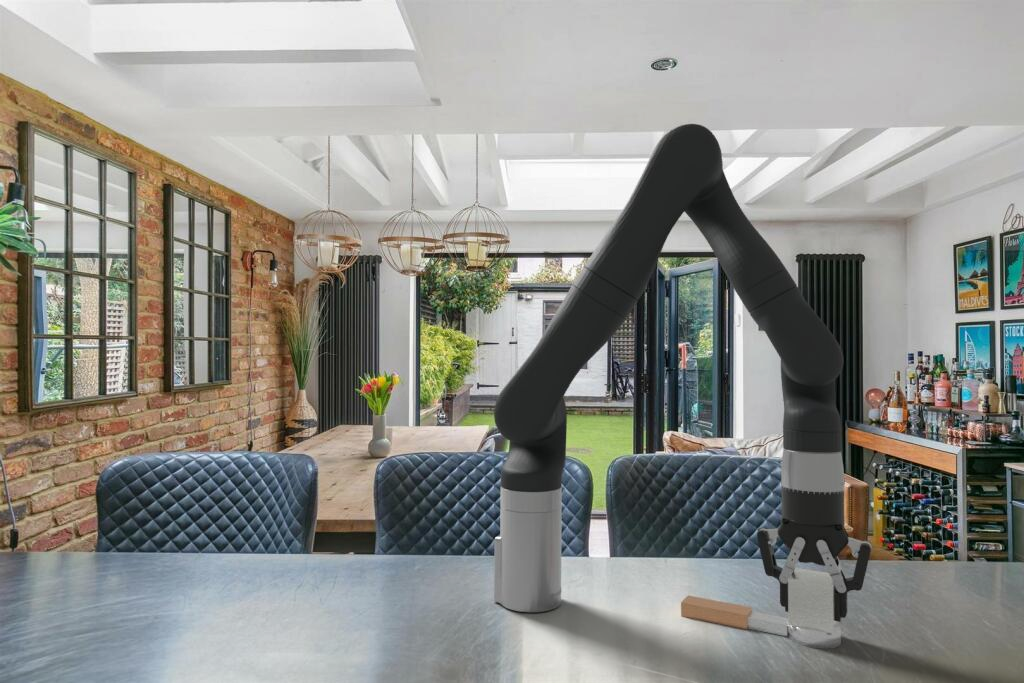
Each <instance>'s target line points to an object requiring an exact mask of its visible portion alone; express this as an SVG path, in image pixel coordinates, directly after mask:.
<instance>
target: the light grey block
mask: <svg viewBox="0 0 1024 683" xmlns="http://www.w3.org/2000/svg"><path fill="white" fill-rule="evenodd" d="M835 590H836V587H835V585H834V582H833V580H832V578H831V576H830V575H829V573H828V572H826V571H818V570H813V569H807V568H806V569H805V568H799V567H795V569H794V571H793V573H792V575H790V576H789V577H788V612H787V613H788V614H787V615H788V616H787V617H788V625H791V626H796V627H801V628H806V629H811V630H817V631H822V632H827V633H832V634H834V631H835V628H836V625H837V623H838V621H835Z"/></svg>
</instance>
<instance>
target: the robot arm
mask: <svg viewBox="0 0 1024 683" xmlns="http://www.w3.org/2000/svg"><path fill="white" fill-rule="evenodd" d="M723 165H724V164H723V154H722V150H721V146H720V144H719V140H718V139H717V137H716V135H715V134H714V133H713V132H712V130H710V129H709V128H708V127H705V126H704V125H701V124H698V123H687V124H681V125H680V126H677V127H675V128H673V129H671V130H669V131H668V132H667V133H666V134H665V135H663V137H662V138H661V139H660V140H659V141H658V142H657V143H656V146H655V148H654V149H653V151H652V153H651V155H650V157H649V159H648V161H647V163H646V166H645V167H644V169H643V171H642V174H641V175H640V178H639V179H638V181H637V183H636V185H635V187H634V190H632V191H633V192H632V193H631V195H630V197H629V199H628V201H627V202H626V204H625V205H624V207H623V209H622V210H621V211H620V213H619V214H618V216H617V217H616V219H615V220H614V221H613V223H612V224H611V226H609V228H608V230H607V232H606V233H605V234H604V236H603V237H602V239H601V240H600V242H599V243H598V245H596V247H595V249H594V251H593V252H592V254H591V255H590V257H588V258H589V259H587V262H585V264H584V266H583V267H582V269H581V270H580V272H579V273H578V275H577V276H576V278H575V280H574V282H573V283H572V285H571V286H570V288H569V290H568V292H567V293H566V295H565V297H564V299H563V300H562V302H561V304H560V305H559V307H558V308H557V310H556V312H555V314H554V315H553V317H552V318H551V320H550V322H549V324H548V325H547V327H546V329H545V331H544V333H543V334H542V336H541V337H540V340H539V341H538V343H537V344H536V346H535V347H534V348H533V350H532V351H531V352H530V354H529V356H528V357H527V358H526V360H525V361H524V362H523V363H522V364H521V365H520V367H519V369H517V371H516V372H515V373H514V375H513V376H512V377H511V378H510V380H509V381H508V382H507V383H506V385H505V386H504V387H503V389H502V390H501V391H500V392H499V394H498V397H497V398H496V401H495V404H494V411H493V418H494V424H495V427H496V429H497V431H498V432H499V434H500V435H501V436H502V437H503V438H504V439H506V440H507V441H509V442H508V443H509V445H508V453H507V456H506V459H505V462H504V464H503V465H502V468H501V470H500V501H499V503H500V504H499V505H500V508H499V510H500V517H499V518H500V520H499V521H500V522H499V524H500V527H499V528H500V532H499V533H500V535H497V536H496V537H495V538H494V554H493V555H494V558H493V559H494V562H493V564H494V569H493V571H494V572H493V573H494V574H493V575H494V578H493V579H494V581H493V583H494V584H493V585H494V586H493V589H494V590H493V601H494V603H499V604H500V605H501V606H503V607H504V608H505V609H509V610H512V611H516V612H520V613H521V612H522V613H542V612H548V611H552V610H554V609H556V608H558V607H560V605H561V604H562V510H563V509H562V500H563V498H562V497H563V496H562V486H563V485H562V484H563V482H562V478H563V472H564V469H565V465H566V458H567V456H566V454H567V427H568V425H567V424H568V423H567V422H568V421H567V420H568V419H567V418H568V417H567V406H566V401H565V398H564V397H565V395H566V392H567V391H568V389H569V388H570V385H571V384H572V383H573V381H574V379H575V378H576V376H577V375H578V374H579V373H580V371H581V369H582V368H583V367H584V366H585V365H586V364H587V363H588V362H589V360H591V359H592V358H593V357H594V356H595V355H596V354H597V353H598V352H599V351H600V350H601V349H602V348H603V347H604V345H605V344H607V343H608V342H609V341H610V340H611V338H612V337H614V335H615V334H616V333H617V332H618V330H619V329H620V328H621V326H623V324H624V323H625V321H626V319H627V318H628V317H629V315H630V313H631V312H632V311H633V309H634V307H635V305H636V304H637V303H638V300H640V298H641V296H642V295H643V292H644V291H645V289H646V288H647V286H648V283H649V281H650V279H651V276H652V275H653V273H654V270H655V269H656V266H657V263H658V261H659V258H660V255H661V253H662V251H663V249H664V246H665V243H666V241H667V239H668V237H669V235H670V233H671V232H672V230H673V228H674V227H675V225H676V224H677V222H678V221H679V219H680V218H681V217H682V215H683V214H684V213H685V214H686V215H687V216H688V218H690V220H691V221H692V222H693V223H694V225H695V226H696V228H698V230H699V232H700V233H701V234H702V235H703V237H704V239H705V240H706V242H707V243H708V245H709V246H710V248H711V250H712V251H713V253H714V255H715V257H716V259H717V261H718V262H719V264H720V266H721V268H722V270H723V272H724V273H725V276H726V277H727V278H728V281H729V283H730V284H731V286H732V287H733V290H734V291H735V293H736V294H737V296H738V297H739V299H740V301H741V303H742V304H743V305H744V307H745V309H746V311H747V312H748V313H749V315H750V317H751V318H752V320H753V321H754V322H755V323H756V325H757V327H759V328H760V329H762V331H764V332H765V334H766V337H768V339H769V341H770V343H771V345H772V347H773V348H774V350H775V351H776V353H777V355H778V356H779V359H780V378H781V389H782V401H783V411H784V412H783V421H782V444H783V445H782V446H783V447H782V449H783V450H782V456H781V457H782V458H781V464H780V465H781V468H780V470H781V476H780V477H781V480H780V481H781V485H780V486H781V522H780V525H779V526H778V528H777V527H776V528H767V527H761V528H760V529H759V531H757V532H756V533H757V534H756V538H757V542H758V546H759V551H760V556H761V560H762V564H763V569H764V572H765V575H766V576H768V577H773V578H775V579H776V580H778V582H779V603H780V605H781V607H784V609H785V612H786V613H788V577H789V576H790V575H792V573H793V571H794V569H795V568H797V565H798V563H803V564H809V563H813V564H815V565H818V566H823V567H825V569H826V570H827V573H829V575H830V576H831V578H832V580H833V582H834V585H835V587H836V590H835V621H837V623H841V622H842V619H845V618H846V617H847V614H848V593H849V592H850V591H857V592H858V591H861V590H862V589H863V585H864V582H865V577H866V573H867V570H868V569H867V568H868V563H869V560H870V556H871V551H872V546H873V545H872V543H871V541H869V540H867V539H866V540H865V539H864V540H860V539H857V538H853V537H850V536H849V534H848V531H846V530H847V529H846V527H845V526H846V525H845V483H846V481H845V480H846V479H845V473H844V472H845V470H844V463H843V456H842V455H843V454H842V425H841V416H840V413H839V411H838V409H837V405H836V379H837V378H838V377H839V375H840V374H841V372H842V370H843V366H844V362H845V360H844V354H843V350H842V348H841V346H840V344H839V342H838V341H837V339H836V337H834V334H833V333H832V332H831V331H830V330H829V327H827V325H826V324H825V323H824V322H823V321H822V319H821V318H820V317H819V316H818V314H817V313H816V312H815V310H814V309H813V308H812V307H811V305H809V303H808V302H807V300H805V297H804V296H803V293H802V291H801V290H800V288H799V286H798V285H797V283H796V281H795V280H794V278H793V277H792V275H791V274H790V272H789V271H788V269H787V268H786V266H785V264H783V262H782V261H781V259H780V258H779V256H778V255H777V253H775V251H774V250H773V247H771V246H770V244H769V243H768V242H767V241H766V240H765V239H764V237H763V236H762V235H761V234H760V232H759V231H758V230H757V229H756V228H755V227H754V225H753V224H752V223H751V221H750V219H748V217H747V215H746V214H745V212H744V211H743V210H742V208H741V206H740V204H739V203H738V201H737V200H736V198H735V196H734V194H733V191H732V189H731V187H730V184H729V182H728V180H727V177H726V174H725V172H724V169H723V168H724V166H723ZM777 538H780V540H781V542H782V543H783V544H784V546H785V547H786V548H787V550H788V552H789V554H788V556H787V558H786V560H785V563H784V565H783V568H782V567H780V566H779V565H778V564H777V558H776V555H775V550H774V546H775V544H776V543H777ZM847 546H848V547H849V548H850V550H851V555H852V556H853V557H854V558H856V564H855V568H854V572H853V575H852V577H846V574H845V573H844V571H843V567H842V564H841V562H840V559H839V557H838V556H839V555H840V554H841V553H842V552H843V551H844V550H845V548H846V547H847Z"/></svg>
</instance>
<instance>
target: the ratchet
mask: <svg viewBox="0 0 1024 683" xmlns="http://www.w3.org/2000/svg"><path fill="white" fill-rule="evenodd" d="M680 616H681V617H684V618H690V619H694V620H698V621H704V622H709V623H713V624H718V625H723V626H727V627H728V626H729V627H731V628H732V627H733V628H739V629H742V630H748V629H749V630H753V631H756V632H757V631H758V632H763V633H768V634H774V635H777V636H778V635H779V636H784V637H787V638H788V639H790V640H791V641H792V642H794V643H797V644H799V645H801V646H806V647H809V648H815V649H824V650H825V649H826V650H827V649H836V648H838V647H840V646H841V644H842V630H841V629H842V627H841V625H840V622H837V625H836V628H835V631H834V634H832V633H827V632H822V631H817V630H811V629H806V628H801V627H796V626H791V625H788V616H787V617H784V616H779V615H774V614H773V615H772V614H768V613H762V612H759V611H753V607H751V606H747V605H741V604H736V603H735V604H734V603H731V602H725V601H721V600H714V599H710V598H705V597H703V598H702V597H699V596H693V595H689V594H688V595H686V597H684V599H683V600H682V601H681V603H680Z"/></svg>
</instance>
